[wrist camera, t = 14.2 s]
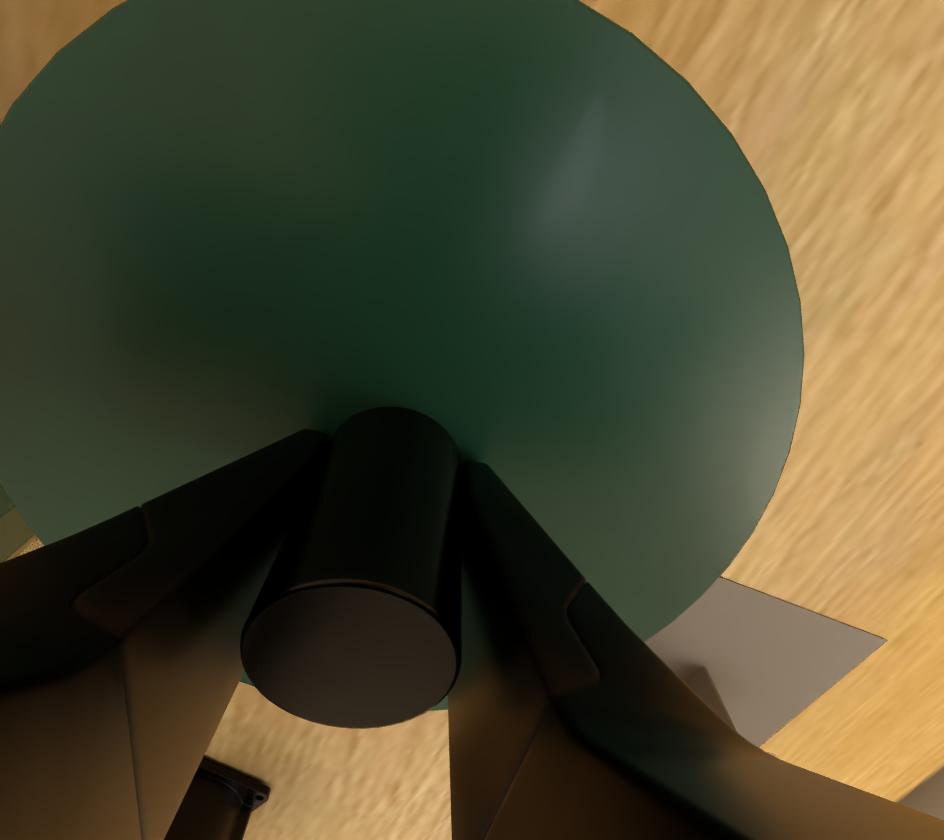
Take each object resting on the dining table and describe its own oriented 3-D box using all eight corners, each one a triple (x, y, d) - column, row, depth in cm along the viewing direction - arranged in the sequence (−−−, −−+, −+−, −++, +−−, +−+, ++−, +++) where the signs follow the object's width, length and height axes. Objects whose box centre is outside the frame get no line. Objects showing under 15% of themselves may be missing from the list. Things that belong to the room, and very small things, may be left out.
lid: (942, 286, 9) (1441, 422, 4) (523, 728, 15) (551, 987, 10) (81, -330, 6) (-1581, -2444, 1) (-28, 553, 11) (-359, 821, 7)
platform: (887, 640, 24) (1024, 796, 18) (665, 824, 31) (712, 976, 26) (679, 561, 21) (760, 712, 16) (491, 781, 29) (499, 939, 23)
